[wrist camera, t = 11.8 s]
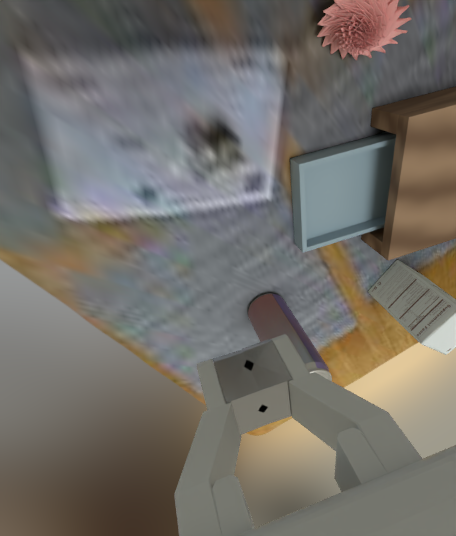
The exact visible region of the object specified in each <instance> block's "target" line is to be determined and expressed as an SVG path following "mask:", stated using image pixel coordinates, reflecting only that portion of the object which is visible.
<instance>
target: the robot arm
mask: <svg viewBox="0 0 456 536" xmlns="http://www.w3.org/2000/svg"><path fill="white" fill-rule="evenodd" d="M213 362H214V363H213ZM197 370H198V374H199V378H200V382H201V386H202V390H203V394H204V398H205V402H206V406H207V411H205V412H203V414H202V417H201V420H200V422H199V425H198V428H197V431H196V434H195V437H194V440H193V443H192V445H191V448H190V452H189V454H188V457H187V460H186V463H185V466H184V468H183V471H182V474H181V477H180V480H179V483H178V486H177V489H176V491H175V503H176V512H177V520H178V527H179V536H456V445H455V446H453V447H450V448H448V449H445V450H443V451H440V452H438V453H436V454H433V455H431V456H428V457H426V458H423V459H422V457H421V456H420V455H419V453H418V452H417V451H416V449H415V448H414V447H413V445H412V444H411V443H410V441H409V440H408V439H407V437H406V436H405V434H404V433H403V432H402V430H401V429H400V428H399V426H398V425H397V424H396V422H395V421H394V420H393V418H392V417H391V416H390V414H389V413H388V412H387V411H385V410H383V409H381V408H379V407H377V406H375V405H374V404H371V403H370V402H368V401H366V400H365V399H363V398H361V397H359V396H357V395H355V394H354V393H352V392H350V391H348V390H346V389H344V388H343V387H341V386H339V385H337V384H335V383H334V382H332V381H330V380H328V379H326V378H324V377H323V376H321V375H319V374H317V373H315V372H313V373H309V371H308V369H307V367H306V366H305V364H304V362H303V361H302V359H301V357H300V356H299V354H298V352H297V351H296V349H295V347H294V346H293V344H292V342H291V341H290V339H289V337H288V336H287V335H286V334H284V335H281V336H278V337H275V338H272V339H268V340H265V341H263V342H260V343H257V344H254V345H251V346H249V347H246V348H243V349H242V350H239V351H236V352H232V353H229V354H226V355H223V356H219V357H216V358H213V360H212V359H210V360H207V361H204V362H201V363H198V364H197ZM216 372H217V373H216ZM290 416H292V418H294V419H295V420H296V421H298V422H299V423H300V424H301V425H303V426H304V427H305V428H307V429H308V430H309V431H310V432H312V433H313V434H314V435H316V436H317V437H318V438H320V439H321V440H322V441H323V442H325V443H326V444H327V445H329V446H330V447H331V448H333V449H334V450H335V451H336V464H335V480H336V482H337V484H338V486H339V488H340V490H341V493H339V494H337V495H334V496H332V497H330V498H327V499H324V500H322V501H320V502H317V503H315V504H312V505H310V506H307V507H305V508H303V509H301V510H298V511H295V512H293V513H291V514H288V515H286V516H283V517H281V518H278V519H276V520H274V521H271V522H269V523H266V524H264V525H261V526H259V527H257V528H255V527H254V524H253V521H252V517H251V514H250V511H249V508H248V505H247V503H246V500H245V497H244V494H243V492H242V489H241V486H240V483H239V480H238V478H237V477H235V476H234V472H235V466H236V461H237V456H238V451H239V446H240V441H241V435H242V434H244V433H247V432H249V431H252V430H254V429H257V428H259V427H261V426H264V425H266V424H269V423H272V422H275V421H278V420H281V419H284V418H287V417H290Z"/></svg>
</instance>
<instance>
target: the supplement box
mask: <svg viewBox="0 0 456 536" xmlns="http://www.w3.org/2000/svg"><path fill="white" fill-rule="evenodd" d="M368 293H369V294H370V295H371V296H372V297H373V298H374V299H375V300H377V301H378V302H379V303H380V304H381V305H382V306H383V307H384V308H385V309H386V310H387V311H388V312H389V313H390V314H391V315H392V316H393V317H394V318H395V319H396V320H397V321H398V322H399V323H400V324H401V325H402V326H403V327H404V328H405V329H406V330H407V331H408V332H409V333H410V334H411V335H412V336H413V337H414V338H415V339H416V340H417V341H419V342H420V343H421V344H422V345H424V346H427V347H429V348H431V349H434V350H436V351H439V352H441V353H443V354H445V355H446V354H448V353H449V352H450V351H452V350H453V349H454V348H455V347H456V299H454V298H453V297H452V296H450V295H449V294H447V293H446V292H445V291H443V290H442V289H441V288H439V287H438V286H437V285H435V284H434V283H433V282H431V281H430V280H429V279H427V278H426V277H425V276H423V275H422V274H420V273H419V272H417V271H415V270H413V269H412V268H410V267H409V266H407V265H405V264H404V263H403V262H401V261H400V260H396V261H395V262H394V263H393V264H392V265H391V266H390V268H389V269H388V270H387V271H386V272H385V273H384V274H383V275H382V276H381V277H380V279H379V280H378V281H377V282H376V283H375V284H374V285H373V286H372V287H371V289H370V290H369V291H368Z"/></svg>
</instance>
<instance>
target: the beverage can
mask: <svg viewBox="0 0 456 536" xmlns="http://www.w3.org/2000/svg"><path fill="white" fill-rule="evenodd" d="M248 316H249V319H250V321H251V323H252V325H253V327H254V329H255V331H256V333H257V335H258V337H259V340H260V342H263V341H265V340H268V339H272V338H275V337H278V336H281V335H284V334H286V335H287V336H288V337H289V339H290V341H291V342H292V344H293V346H294V347H295V349H296V351H297V352H298V354H299V356H300V357H301V359H302V361H303V362H304V364H305V366H306V367H307V369H308V371H309V373H313V372H315V373H317V374H319V375H321V376H323V377H324V378H326V379H328V380H330V381H331V380H332V377H331V374H330V373H329V370H328V367H327V365H326V364H325V362H324V360H323V359H322V357H321V356H320V354H319V353H318V351H317V350H316V348H315V347H314V345H313V344H312V342H311V341H310V339H309V338H308V336H307V335H306V333H305V332H304V330H303V328H302V327H301V325H300V324H299V322H298V321H297V319H296V318H295V316H294V315H293V313H292V312H291V310H290V309H289V307H288V306H287V304H286V303H285V301H284V300H283V298H282V297H281V296H279V295H276V294H272V293H267V294H263V295H260V296H259V297H257V298H256V299H255V300H254V301H253V302H252V303H251V305H250V307H249V311H248Z"/></svg>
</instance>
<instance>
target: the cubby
mask: <svg viewBox="0 0 456 536" xmlns="http://www.w3.org/2000/svg"><path fill="white" fill-rule="evenodd" d="M371 127H374V128H377V129H381V130H384V131H387V132H390V133H393V134H396V141H395V149H394V157H393V164H392V172H391V180H390V187H389V195H388V203H387V211H386V218H385V226H384V228H380V229H377V230H374V231H371V232H367V233H364V234H362V237H361V239H362V240H363V241H364V242H365V243H367V244H368V245H369V246H370V247H372V248H373V249H374V250H375V251H377V252H378V253H379V254H380V255H382V256H383V257H384V258H386V259H387V260H391V259H394V258H397V257H400V256H403V255H406V254H409V253H412V252H415V251H418V250H421V249H424V248H428V247H431V246H434V245H437V244H440V243H443V242H446V241H449V240H452V239H455V238H456V87H452V88H448V89H444V90H441V91H437V92H433V93H429V94H425V95H421V96H418V97H414V98H410V99H406V100H402V101H398V102H395V103H391V104H387V105H383V106H379V107H375V108H372V118H371Z"/></svg>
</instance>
